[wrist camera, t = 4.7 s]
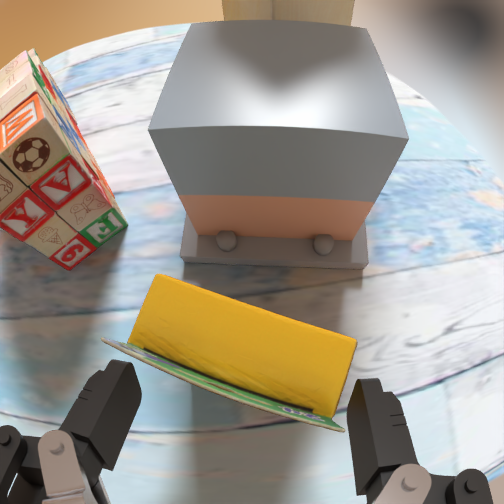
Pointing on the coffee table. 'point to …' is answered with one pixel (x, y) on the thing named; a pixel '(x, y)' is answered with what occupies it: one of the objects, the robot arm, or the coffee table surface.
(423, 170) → the coffee table surface
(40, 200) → the stack of blocks
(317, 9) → the tall beige wooden block
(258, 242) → the two-tone cube on base
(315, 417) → the crayon box
